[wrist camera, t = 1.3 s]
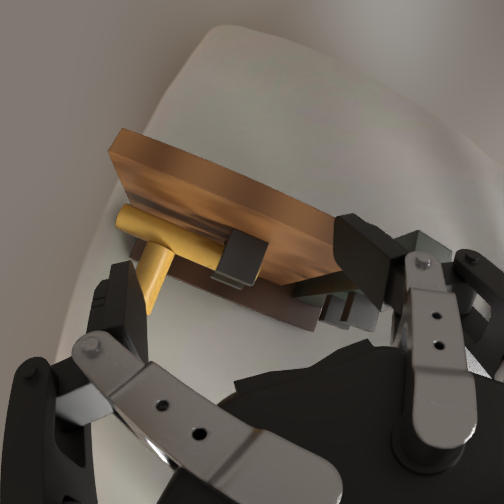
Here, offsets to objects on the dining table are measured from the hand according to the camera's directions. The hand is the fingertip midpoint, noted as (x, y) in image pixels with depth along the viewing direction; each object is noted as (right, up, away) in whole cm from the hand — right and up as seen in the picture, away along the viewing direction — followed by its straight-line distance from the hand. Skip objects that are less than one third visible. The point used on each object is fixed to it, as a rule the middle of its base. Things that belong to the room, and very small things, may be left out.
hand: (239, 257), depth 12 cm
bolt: (-5, -1, +9) cm, 10 cm away
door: (-1, -1, +21) cm, 21 cm away
